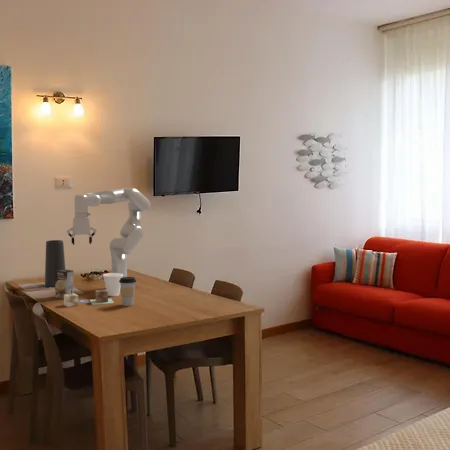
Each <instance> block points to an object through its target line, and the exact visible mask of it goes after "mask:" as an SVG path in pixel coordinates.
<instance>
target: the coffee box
mask: <svg viewBox="0 0 450 450" xmlns="http://www.w3.org/2000/svg"><path fill="white" fill-rule="evenodd" d="M74 282H75V281H74V270H73V269H72V270H71V269H66V268H65V269H60V270H56V271H55V288H54V289H55V290H54V294H55V296H54V297H55V299H56V298H57V299H63V300H64V295H65V294H75V293H74V291H75V290H74V287H75V286H74Z"/></svg>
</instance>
